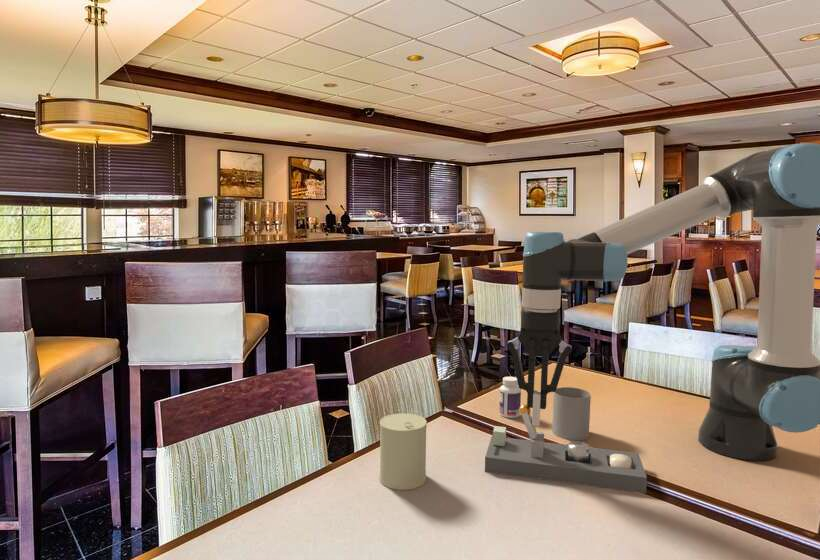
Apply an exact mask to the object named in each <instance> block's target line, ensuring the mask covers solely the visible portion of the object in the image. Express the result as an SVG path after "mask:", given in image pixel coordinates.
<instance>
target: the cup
mask: <svg viewBox="0 0 820 560" xmlns="http://www.w3.org/2000/svg"><path fill="white" fill-rule="evenodd" d="M591 398H592V395H591V393H590V392H589V391H588V390H587V389H586V390H585V389H583V388H578V387H570V386H569V387H568V386H567V387H566V386H565V387H557V389H556V391H555V392H553V400H552V402H553V405H552V427H551V431H552V434H553V435H554V436H555V437H558V438H560V439H563V440H569V441H583V440H586V439H588V438H589V436H590V423H591V422H590V420H591V401H592V400H591Z"/></svg>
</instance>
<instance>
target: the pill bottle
mask: <svg viewBox="0 0 820 560" xmlns="http://www.w3.org/2000/svg"><path fill="white" fill-rule="evenodd" d="M499 387H500V388H499V411H498V412H499V416H501V417H503V418H506V419H507V418H508V419H515V418H516V419H517V418H519V417H520V416H521V415H520V413H519V408H520V406H521V405H522V404H521V397H522V396H521V395H522V389H520V388H519V386H518V381H517V377H515V376H504V377H502V385H501V386H499Z"/></svg>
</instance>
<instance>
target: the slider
mask: <svg viewBox="0 0 820 560" xmlns="http://www.w3.org/2000/svg"><path fill="white" fill-rule="evenodd" d="M492 436H493V445H498V446H504V445H505V441H506V438H507V427H506V426H499V425H498V426H497V425H494V427H493V431H492Z"/></svg>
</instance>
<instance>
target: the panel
mask: <svg viewBox="0 0 820 560" xmlns="http://www.w3.org/2000/svg"><path fill="white" fill-rule="evenodd" d="M536 432H537V435H538V438H539V440H540V441H536V440H530V439H529V440H528V439H520V438H511V437H506V441H505V445H504V446H498V445H493V435H492V436H491V438H490V440H489V442H488V443H489V444H488V448H487V450H486V454H485V455H484V456H485V457H484V472H486V473H492V474H495V473H496V474H501V475H509V476H510V475H511V476H517V477H523V478H524V477H525V478H532V479H538V480H539V479H540V480H546V481H551V482H553V481H554V482H560V483H568V484H574V485H575V484H576V485H584V486H591V487H598V488H605V489H613V490H621V491H627V492H633V493H634V492H635V493H641V494H642V493H643V494H646V493H647V486H648V485H647V482H648V481H647V480H648V477H647V473H646V471H645V468H644V465H643V462H642V459H641V457H640V454H639V452H631V451H623V450H613V449H607V448H598V447H590V446H589V461H588V463H580V462H572V461H568V444H564V443H556V442H546V441H545V432H540V431H536ZM612 454H623V455H626V456H628V457H630V458H631V459H632V465H631V469H628V468H620V467H612V466H610V455H612Z"/></svg>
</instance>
